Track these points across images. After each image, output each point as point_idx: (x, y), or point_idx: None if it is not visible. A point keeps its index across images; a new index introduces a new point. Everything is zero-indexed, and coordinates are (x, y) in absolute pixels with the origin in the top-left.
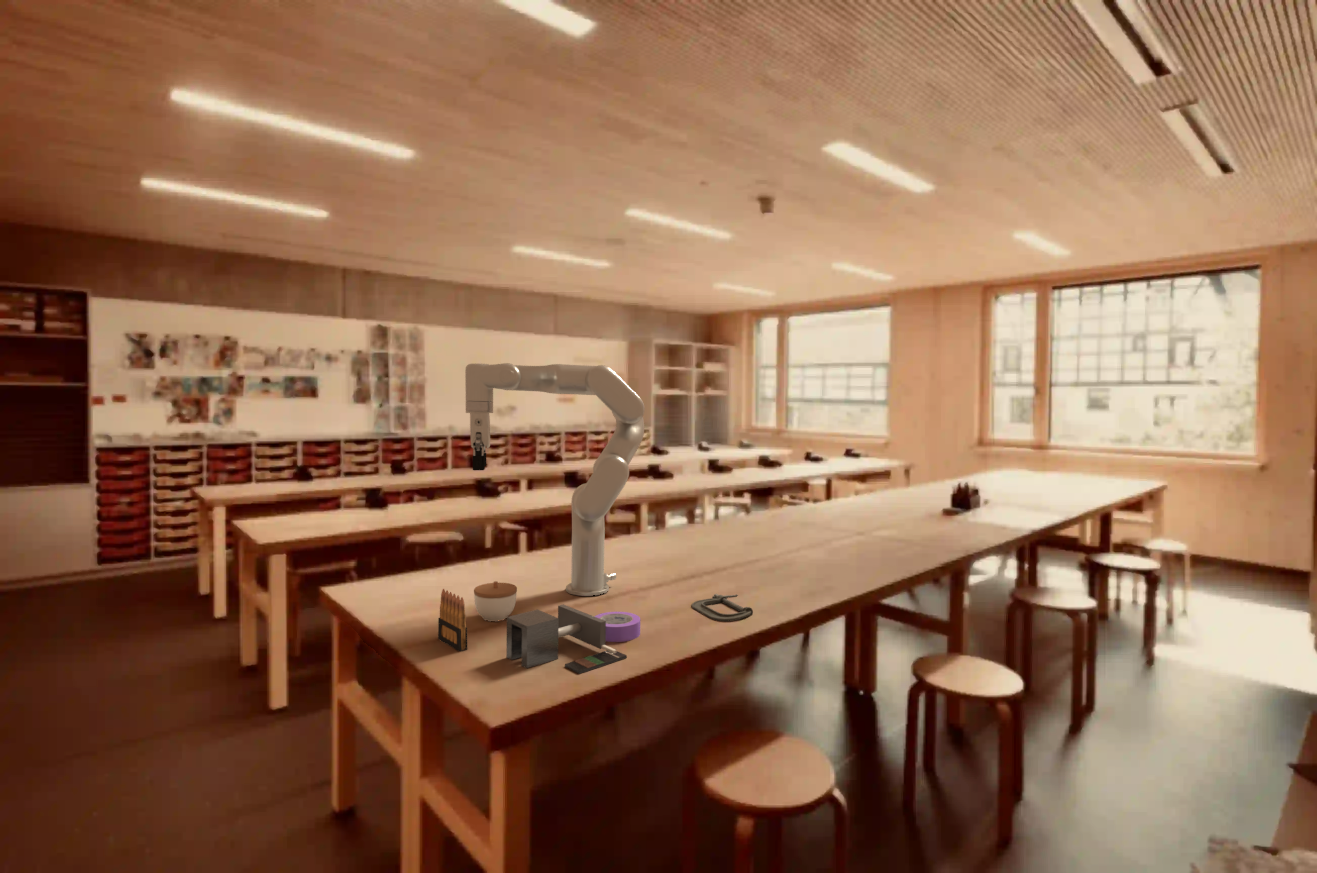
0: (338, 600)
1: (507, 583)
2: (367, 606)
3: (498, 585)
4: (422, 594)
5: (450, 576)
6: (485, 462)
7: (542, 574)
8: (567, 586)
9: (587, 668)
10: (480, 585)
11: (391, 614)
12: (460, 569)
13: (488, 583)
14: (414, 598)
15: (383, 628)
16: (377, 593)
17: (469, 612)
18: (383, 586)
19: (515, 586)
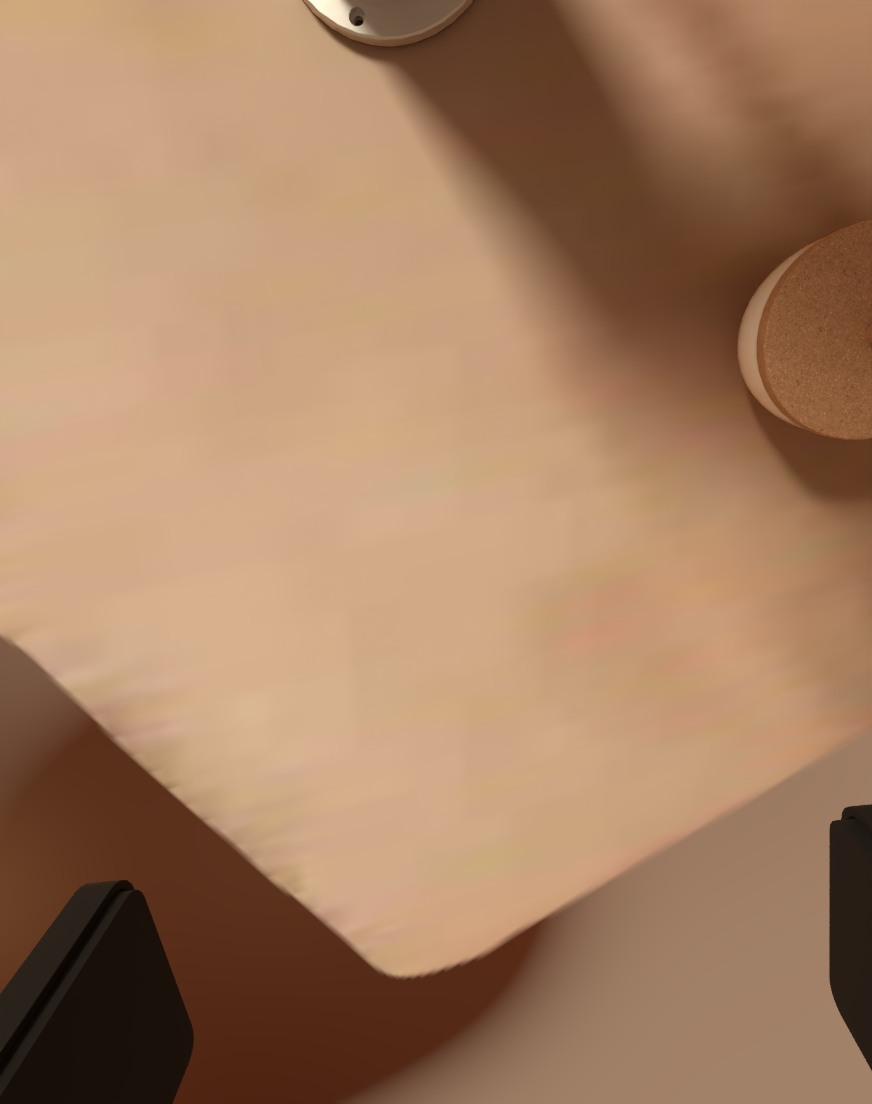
0: (541, 917)
1: (798, 284)
2: (613, 820)
3: (839, 325)
4: (470, 688)
5: (209, 648)
6: (94, 955)
7: (112, 232)
8: (391, 29)
9: None
10: (819, 420)
11: (712, 725)
12: (94, 634)
13: (785, 387)
14: (522, 702)
15: (865, 707)
16: (460, 833)
17: (716, 460)
18: (371, 839)
19: (862, 228)
